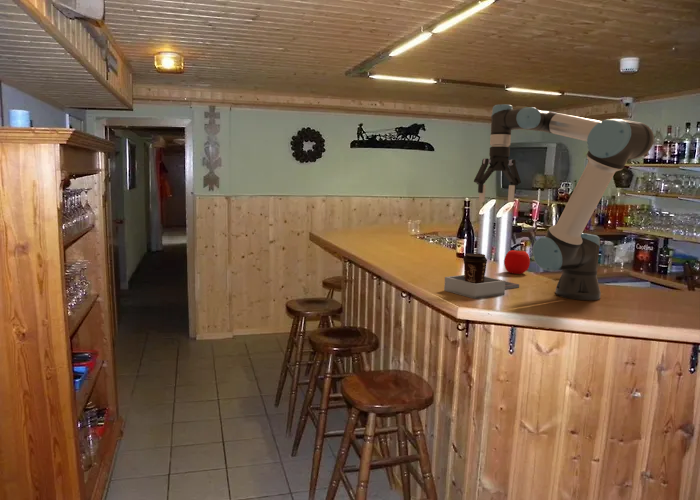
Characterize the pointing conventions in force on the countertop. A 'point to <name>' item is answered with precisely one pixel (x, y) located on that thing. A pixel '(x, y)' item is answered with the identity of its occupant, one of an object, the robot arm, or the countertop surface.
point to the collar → (511, 285)
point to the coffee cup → (474, 267)
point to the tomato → (517, 261)
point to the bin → (474, 287)
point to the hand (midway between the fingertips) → (496, 201)
